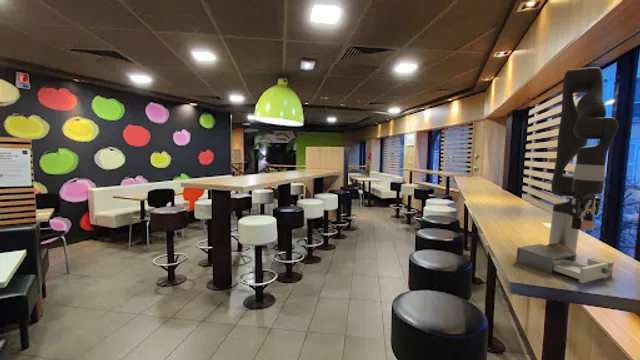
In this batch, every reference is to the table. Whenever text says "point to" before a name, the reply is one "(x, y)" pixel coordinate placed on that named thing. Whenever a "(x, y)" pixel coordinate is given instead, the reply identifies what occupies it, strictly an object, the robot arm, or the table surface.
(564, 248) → the bread roll
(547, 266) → the player housing
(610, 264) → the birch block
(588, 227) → the coaster
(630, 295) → the table surface
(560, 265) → the tray
